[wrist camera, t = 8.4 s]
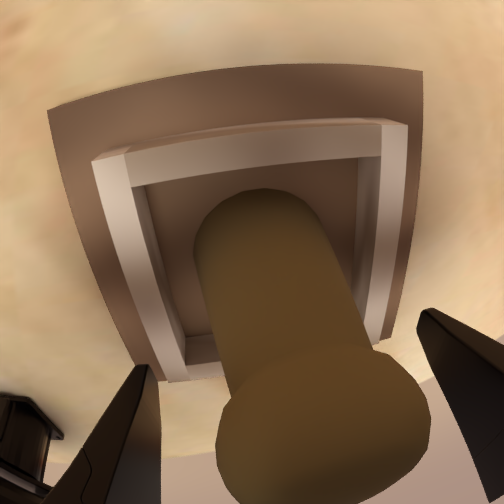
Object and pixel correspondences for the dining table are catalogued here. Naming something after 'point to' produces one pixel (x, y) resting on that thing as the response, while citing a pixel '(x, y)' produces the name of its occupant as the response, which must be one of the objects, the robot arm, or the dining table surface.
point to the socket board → (238, 187)
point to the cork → (299, 362)
